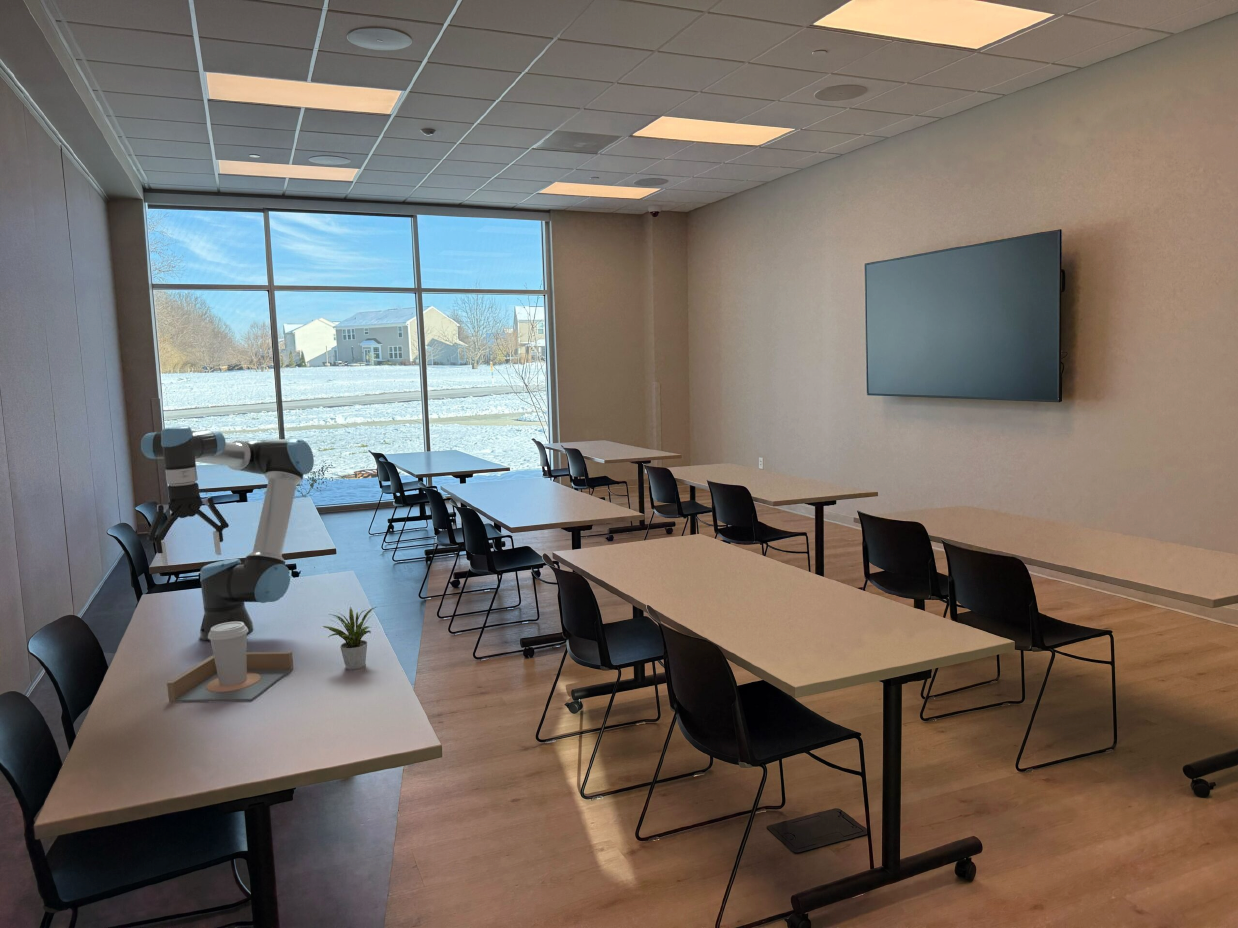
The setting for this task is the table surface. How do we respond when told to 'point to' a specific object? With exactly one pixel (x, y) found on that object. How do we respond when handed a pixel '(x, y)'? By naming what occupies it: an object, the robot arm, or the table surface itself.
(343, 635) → the house plant
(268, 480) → the robot arm
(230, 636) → the coffee cup
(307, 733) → the table surface
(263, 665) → the tray
